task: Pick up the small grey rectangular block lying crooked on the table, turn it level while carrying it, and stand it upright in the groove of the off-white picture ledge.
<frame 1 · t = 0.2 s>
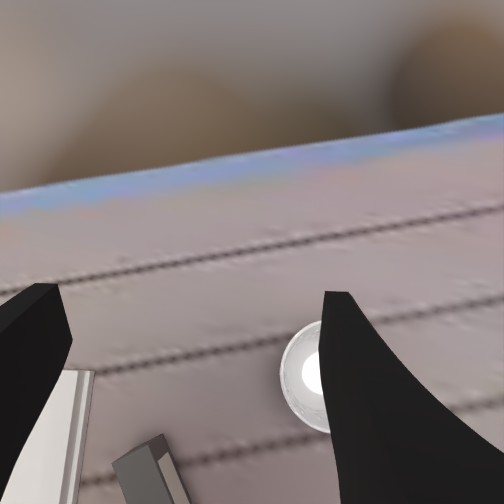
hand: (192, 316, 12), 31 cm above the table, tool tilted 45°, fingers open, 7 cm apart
ledge: (29, 473, 40), on the table
white cup: (316, 372, 42), on the table
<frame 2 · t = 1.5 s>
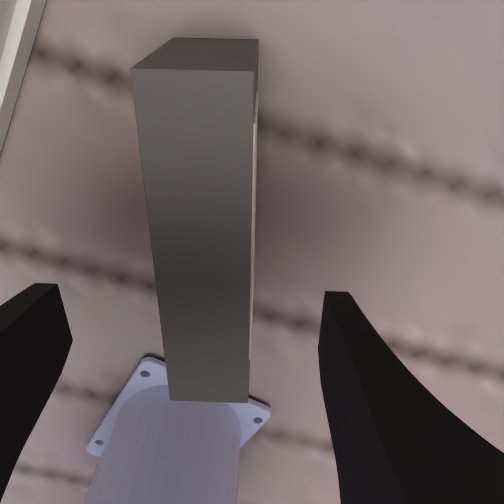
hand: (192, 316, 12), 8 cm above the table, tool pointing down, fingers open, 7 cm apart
grey rectangular block: (219, 192, 19), on the table
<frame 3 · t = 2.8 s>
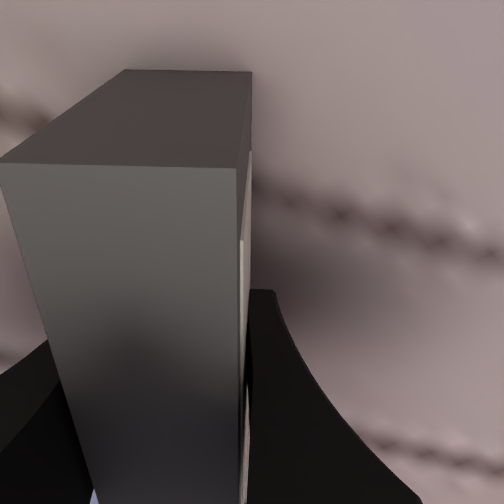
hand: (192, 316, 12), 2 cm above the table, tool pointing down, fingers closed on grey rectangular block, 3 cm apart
grey rectangular block: (200, 278, 14), on the table, touching gripper
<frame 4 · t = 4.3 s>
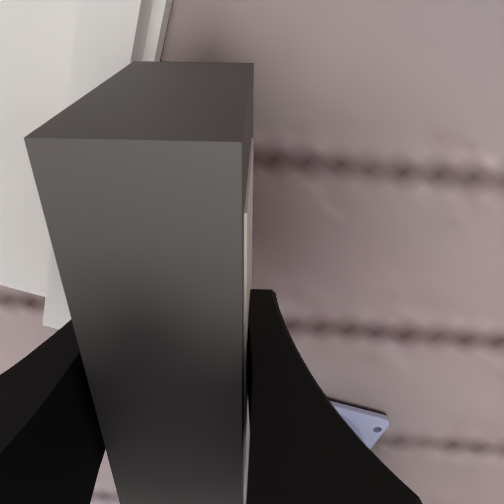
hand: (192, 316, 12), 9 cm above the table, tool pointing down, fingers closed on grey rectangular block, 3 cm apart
grey rectangular block: (204, 262, 14), point 6 cm above the table, touching gripper
ledge: (34, 98, 18), on the table
when the fingers open (4 cm above the table, at t = 6.1 s): grey rectangular block stays where it is, resting on ledge.
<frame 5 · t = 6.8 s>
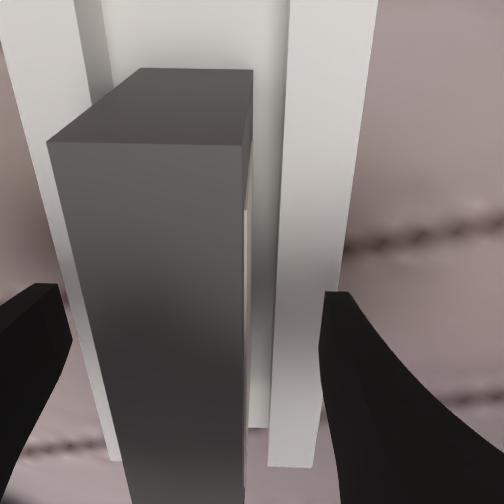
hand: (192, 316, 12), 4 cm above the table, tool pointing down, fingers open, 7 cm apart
grey rectangular block: (206, 258, 15), point 1 cm above the table, touching ledge
ledge: (210, 235, 16), on the table
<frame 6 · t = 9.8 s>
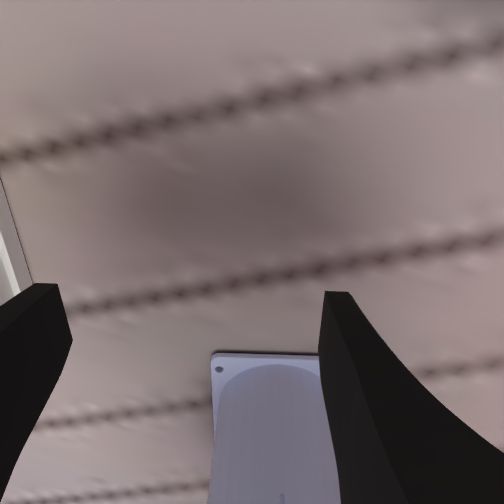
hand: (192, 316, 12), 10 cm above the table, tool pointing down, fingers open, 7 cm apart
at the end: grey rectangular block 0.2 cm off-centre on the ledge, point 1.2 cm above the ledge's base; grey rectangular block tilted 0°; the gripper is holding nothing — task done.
